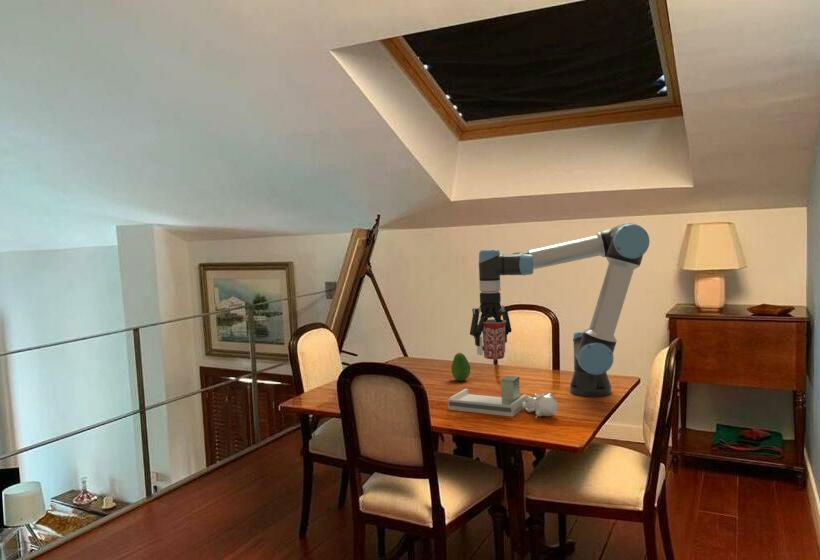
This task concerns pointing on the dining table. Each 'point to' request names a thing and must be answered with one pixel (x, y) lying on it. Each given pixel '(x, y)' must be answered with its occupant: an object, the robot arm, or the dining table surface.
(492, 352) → the mug
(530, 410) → the figurine
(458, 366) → the avocado
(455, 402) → the shelf
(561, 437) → the dining table surface
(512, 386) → the tea tin
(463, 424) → the dining table surface
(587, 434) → the dining table surface
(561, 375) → the dining table surface
